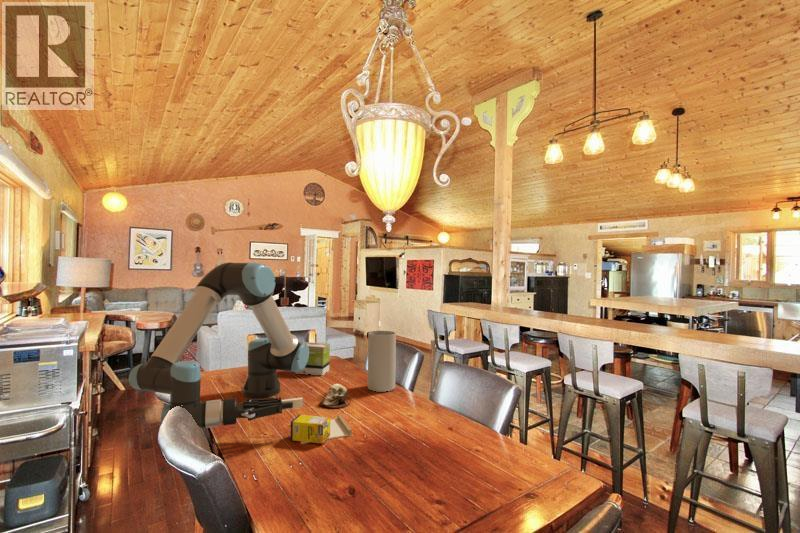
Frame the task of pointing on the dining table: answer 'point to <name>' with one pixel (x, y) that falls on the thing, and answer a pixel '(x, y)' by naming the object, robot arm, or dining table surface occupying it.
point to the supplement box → (310, 429)
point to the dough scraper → (337, 429)
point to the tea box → (317, 359)
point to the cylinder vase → (381, 360)
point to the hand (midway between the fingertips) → (302, 402)
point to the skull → (335, 397)
